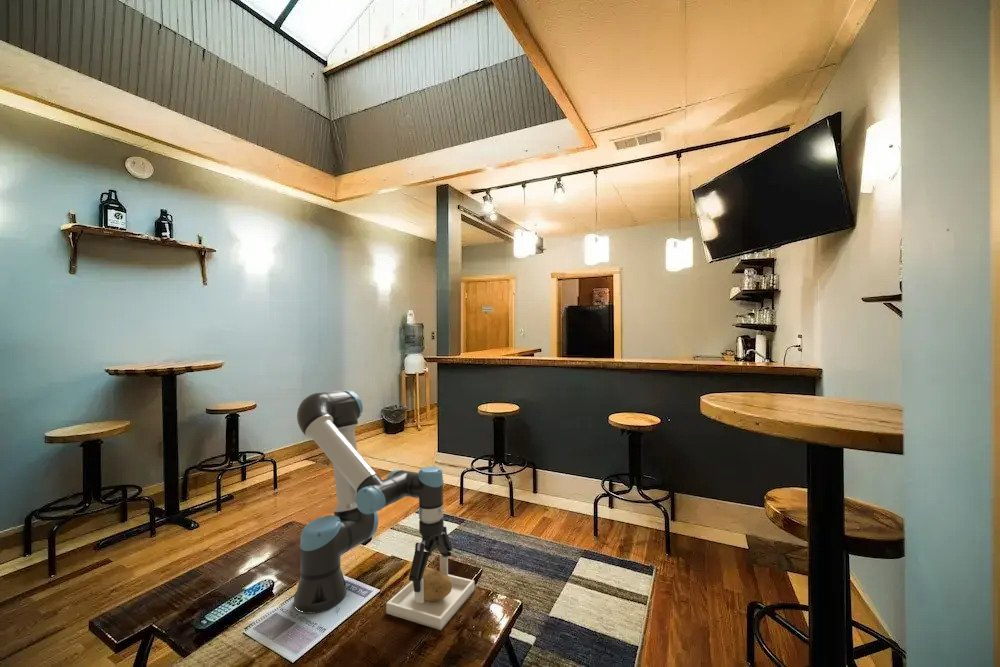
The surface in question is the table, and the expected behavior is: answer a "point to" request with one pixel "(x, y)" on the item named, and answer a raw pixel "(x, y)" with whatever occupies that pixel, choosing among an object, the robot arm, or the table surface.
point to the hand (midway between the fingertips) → (432, 588)
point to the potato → (435, 585)
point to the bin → (430, 604)
